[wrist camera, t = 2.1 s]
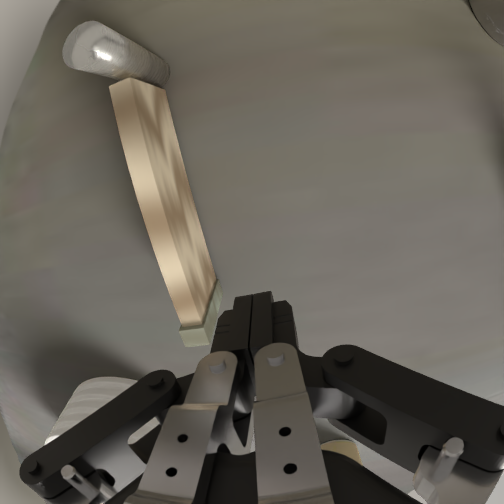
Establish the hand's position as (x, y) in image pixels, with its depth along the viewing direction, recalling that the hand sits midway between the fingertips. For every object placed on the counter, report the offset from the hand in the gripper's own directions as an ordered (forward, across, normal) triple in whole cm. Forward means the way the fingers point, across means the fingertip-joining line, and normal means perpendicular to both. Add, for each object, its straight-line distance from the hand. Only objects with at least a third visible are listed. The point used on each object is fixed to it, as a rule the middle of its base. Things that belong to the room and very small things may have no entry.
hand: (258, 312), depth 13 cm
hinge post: (+16, +6, -15) cm, 23 cm away
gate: (+15, +6, -3) cm, 17 cm away
